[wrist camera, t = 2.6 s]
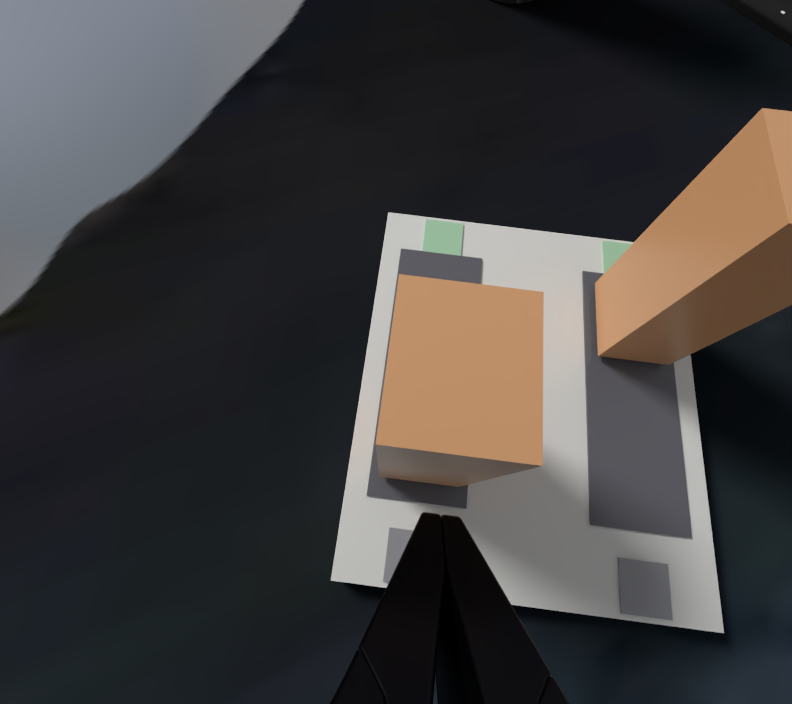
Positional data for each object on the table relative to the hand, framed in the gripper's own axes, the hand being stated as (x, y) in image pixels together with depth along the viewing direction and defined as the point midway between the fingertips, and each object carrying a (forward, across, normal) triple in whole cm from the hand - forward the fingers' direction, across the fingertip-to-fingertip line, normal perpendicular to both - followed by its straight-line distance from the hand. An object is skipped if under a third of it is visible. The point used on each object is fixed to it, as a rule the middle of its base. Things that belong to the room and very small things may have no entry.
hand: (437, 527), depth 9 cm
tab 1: (+7, 0, +3) cm, 7 cm away
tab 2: (+11, -8, -2) cm, 14 cm away
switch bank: (+10, -4, +2) cm, 11 cm away
